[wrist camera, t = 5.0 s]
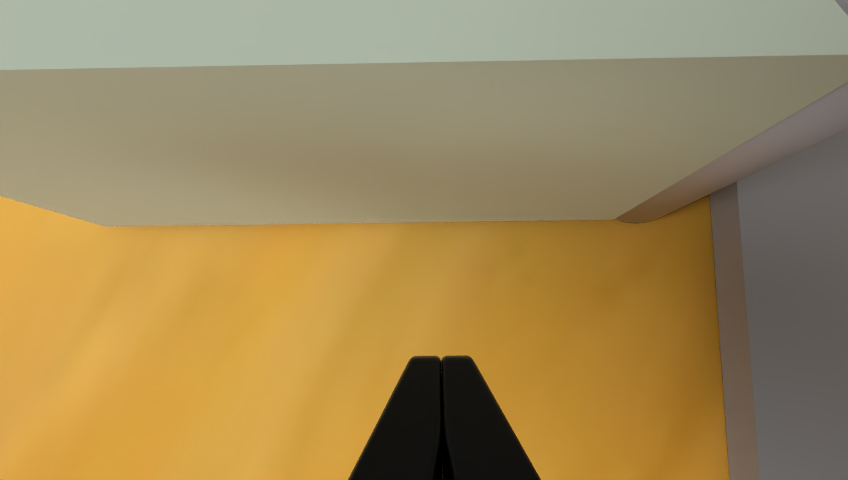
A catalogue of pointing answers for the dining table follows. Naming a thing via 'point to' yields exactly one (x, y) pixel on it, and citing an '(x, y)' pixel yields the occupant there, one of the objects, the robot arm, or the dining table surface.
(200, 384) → the dining table surface
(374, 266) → the dining table surface
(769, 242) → the grey peg stand
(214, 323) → the dining table surface
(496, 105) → the pale green flat block
